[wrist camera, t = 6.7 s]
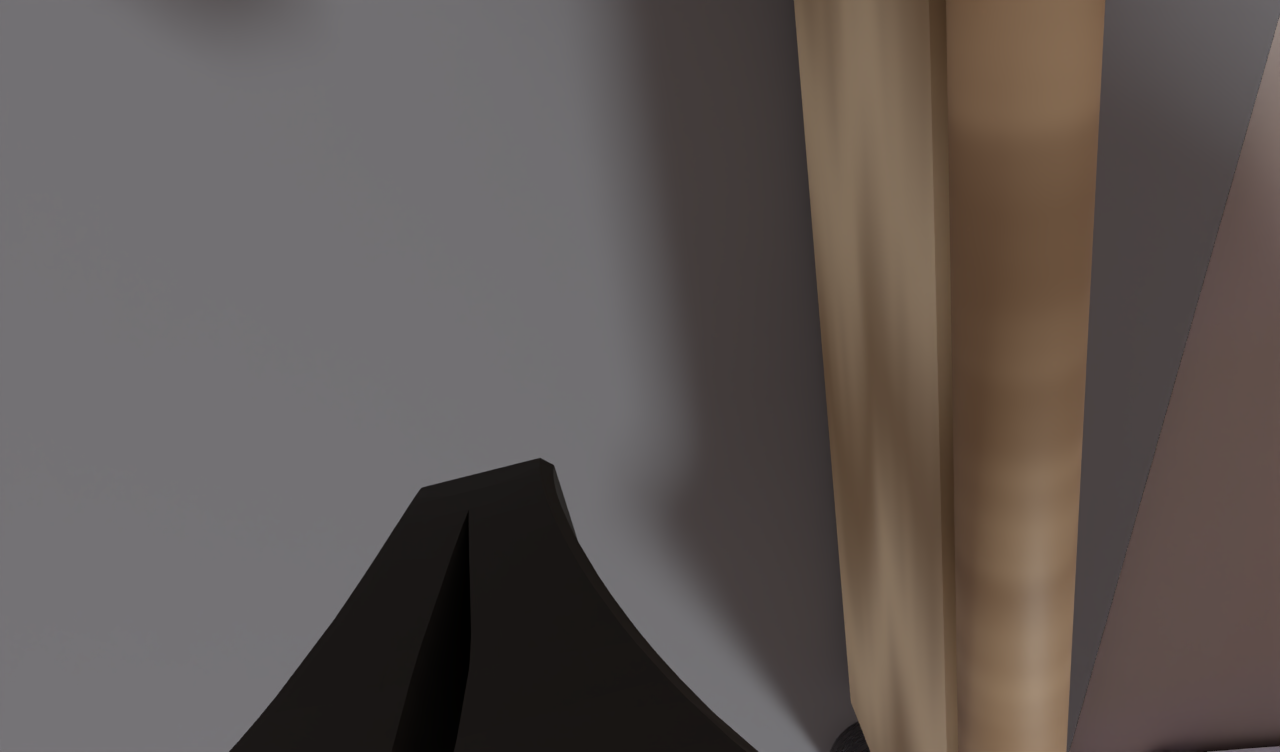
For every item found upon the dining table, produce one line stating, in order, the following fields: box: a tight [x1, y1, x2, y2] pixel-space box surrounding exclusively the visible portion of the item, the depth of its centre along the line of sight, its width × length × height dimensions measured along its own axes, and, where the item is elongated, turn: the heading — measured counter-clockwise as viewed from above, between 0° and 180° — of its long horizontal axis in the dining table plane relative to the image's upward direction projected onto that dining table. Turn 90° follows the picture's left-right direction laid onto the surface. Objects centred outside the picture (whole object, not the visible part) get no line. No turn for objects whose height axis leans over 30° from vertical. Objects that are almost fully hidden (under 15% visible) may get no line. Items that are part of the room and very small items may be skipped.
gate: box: [794, 0, 1105, 752], centre depth 13 cm, size 16×2×6 cm, turn 9°
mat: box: [0, 0, 1280, 752], centre depth 17 cm, size 22×24×1 cm
